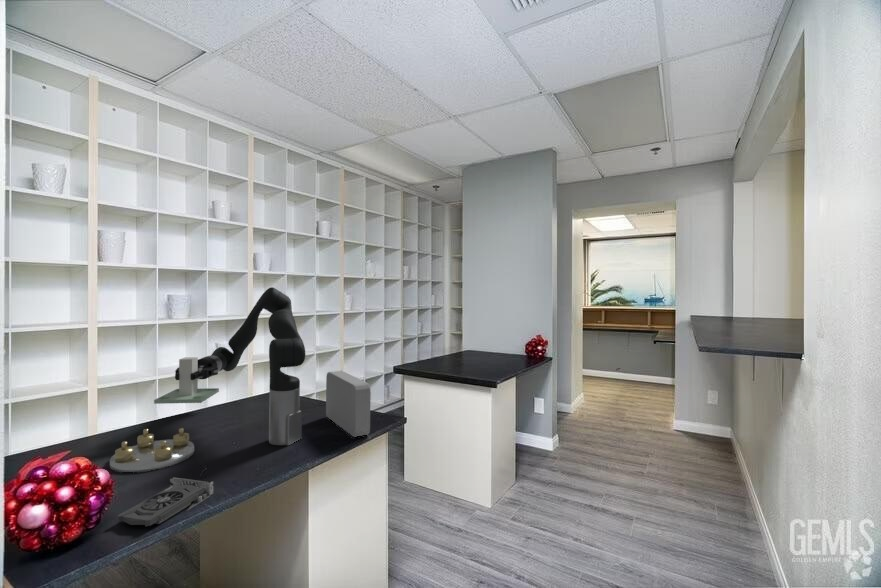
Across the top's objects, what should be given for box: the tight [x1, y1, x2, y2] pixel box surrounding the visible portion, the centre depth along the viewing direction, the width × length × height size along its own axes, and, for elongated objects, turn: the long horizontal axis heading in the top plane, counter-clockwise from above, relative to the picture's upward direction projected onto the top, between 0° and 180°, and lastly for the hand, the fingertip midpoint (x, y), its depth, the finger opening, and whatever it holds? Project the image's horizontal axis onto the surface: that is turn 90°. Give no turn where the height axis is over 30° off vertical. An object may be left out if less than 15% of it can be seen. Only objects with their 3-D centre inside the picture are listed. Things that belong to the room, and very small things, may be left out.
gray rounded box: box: [325, 370, 372, 437], centre depth 148 cm, size 29×8×18 cm, turn 35°
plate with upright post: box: [153, 356, 220, 405], centre depth 138 cm, size 14×14×13 cm
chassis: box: [109, 427, 195, 474], centre depth 119 cm, size 20×20×6 cm
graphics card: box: [117, 477, 214, 528], centre depth 92 cm, size 17×4×12 cm
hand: (184, 377), depth 135 cm, fingers closed on plate with upright post, 4 cm apart
